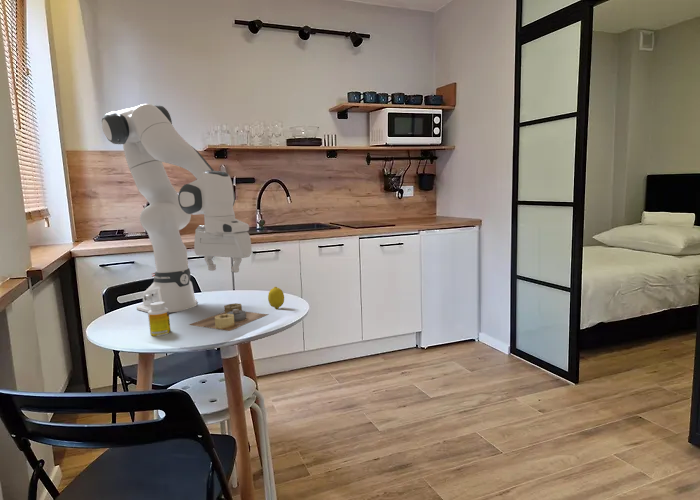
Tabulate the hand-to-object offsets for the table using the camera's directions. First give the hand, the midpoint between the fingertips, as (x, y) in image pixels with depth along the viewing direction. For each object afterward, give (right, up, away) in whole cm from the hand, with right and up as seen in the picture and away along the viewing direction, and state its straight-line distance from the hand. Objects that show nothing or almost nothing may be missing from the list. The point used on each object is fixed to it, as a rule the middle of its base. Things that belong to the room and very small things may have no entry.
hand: (223, 271), depth 138 cm
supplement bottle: (-17, -19, -3) cm, 26 cm away
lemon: (+13, -14, +22) cm, 29 cm away
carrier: (0, -17, +7) cm, 18 cm away
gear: (0, -17, 0) cm, 17 cm away
